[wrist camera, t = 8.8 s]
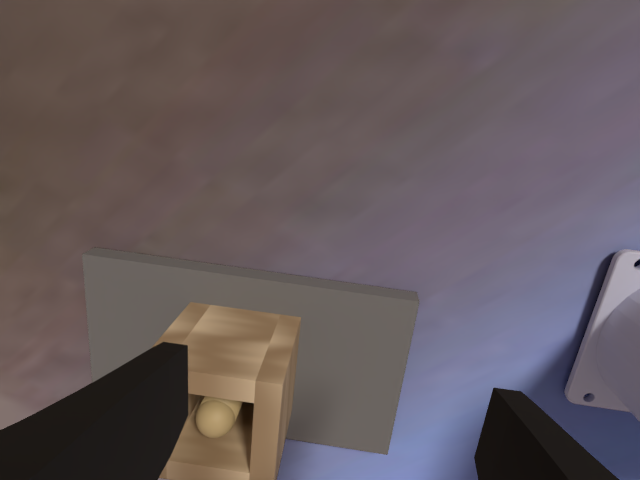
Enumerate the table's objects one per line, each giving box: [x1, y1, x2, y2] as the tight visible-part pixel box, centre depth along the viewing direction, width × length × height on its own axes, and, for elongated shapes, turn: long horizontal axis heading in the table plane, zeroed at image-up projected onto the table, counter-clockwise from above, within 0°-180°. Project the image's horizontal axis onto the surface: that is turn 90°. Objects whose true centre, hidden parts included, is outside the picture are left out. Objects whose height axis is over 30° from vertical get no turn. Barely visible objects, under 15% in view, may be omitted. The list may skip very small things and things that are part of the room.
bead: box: [152, 302, 301, 480], centre depth 18 cm, size 5×5×5 cm
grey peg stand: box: [82, 247, 419, 455], centre depth 19 cm, size 16×9×6 cm, turn 84°
